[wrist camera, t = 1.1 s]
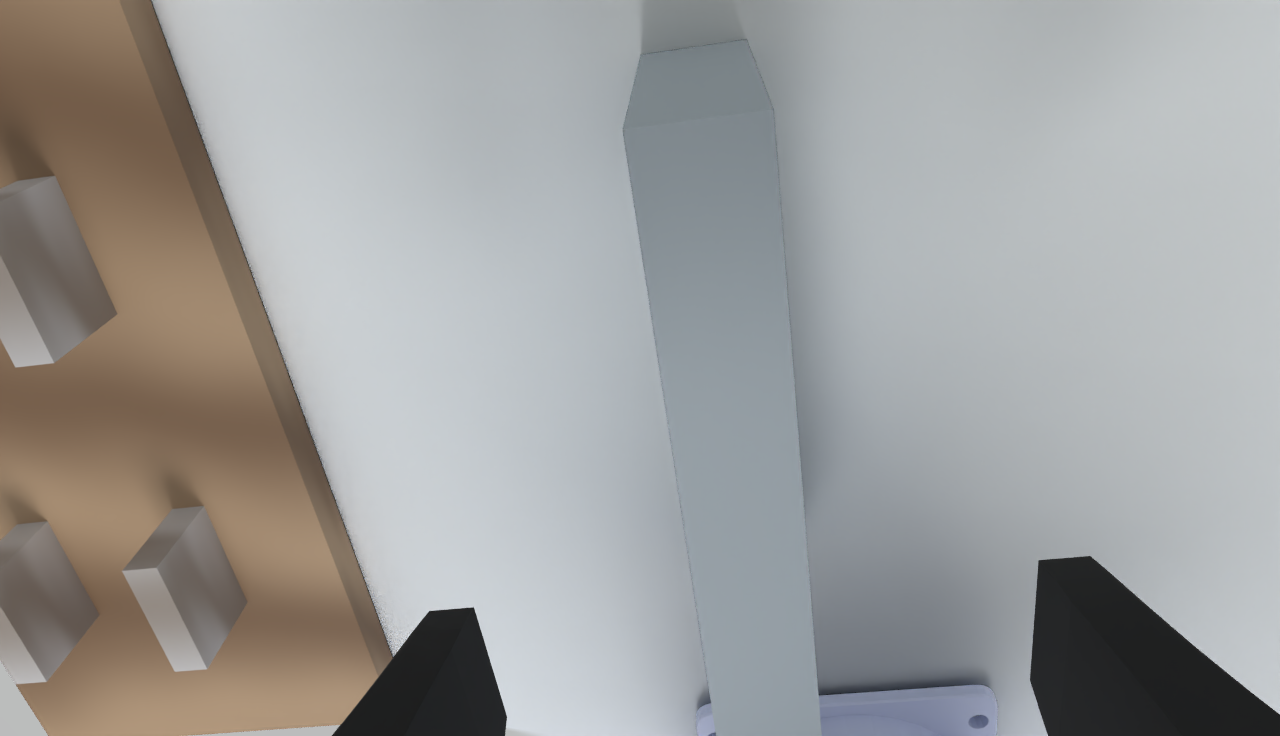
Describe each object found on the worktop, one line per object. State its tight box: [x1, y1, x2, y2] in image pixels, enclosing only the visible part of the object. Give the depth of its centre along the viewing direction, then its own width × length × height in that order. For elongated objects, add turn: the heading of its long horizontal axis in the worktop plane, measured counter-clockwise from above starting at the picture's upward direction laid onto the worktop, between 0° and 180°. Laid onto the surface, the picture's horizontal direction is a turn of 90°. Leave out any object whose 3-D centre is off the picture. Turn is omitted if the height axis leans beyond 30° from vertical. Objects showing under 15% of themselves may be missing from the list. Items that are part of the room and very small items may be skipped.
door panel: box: [623, 39, 822, 736], centre depth 17 cm, size 12×2×6 cm, turn 8°
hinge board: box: [0, 0, 393, 736], centre depth 20 cm, size 20×10×3 cm, turn 8°
